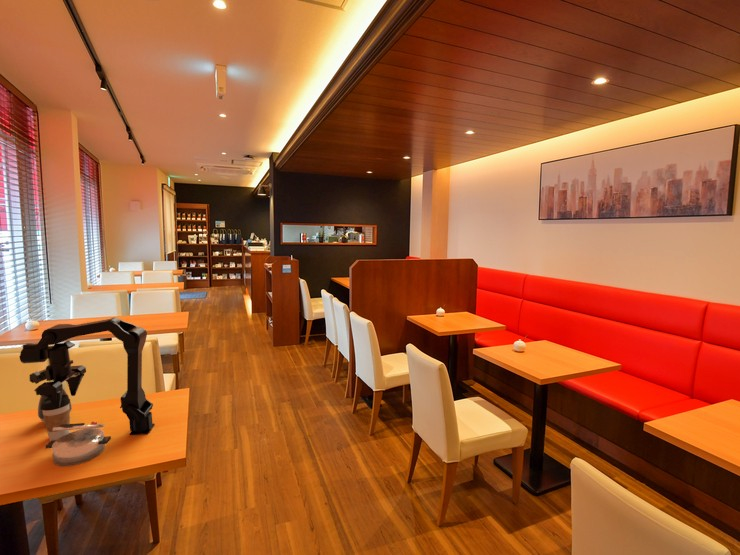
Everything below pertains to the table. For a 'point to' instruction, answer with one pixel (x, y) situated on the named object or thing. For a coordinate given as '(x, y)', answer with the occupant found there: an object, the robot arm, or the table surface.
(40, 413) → the pump dispenser
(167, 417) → the table surface
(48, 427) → the coffee cup
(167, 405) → the table surface
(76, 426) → the lid
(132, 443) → the table surface
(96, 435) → the pot
